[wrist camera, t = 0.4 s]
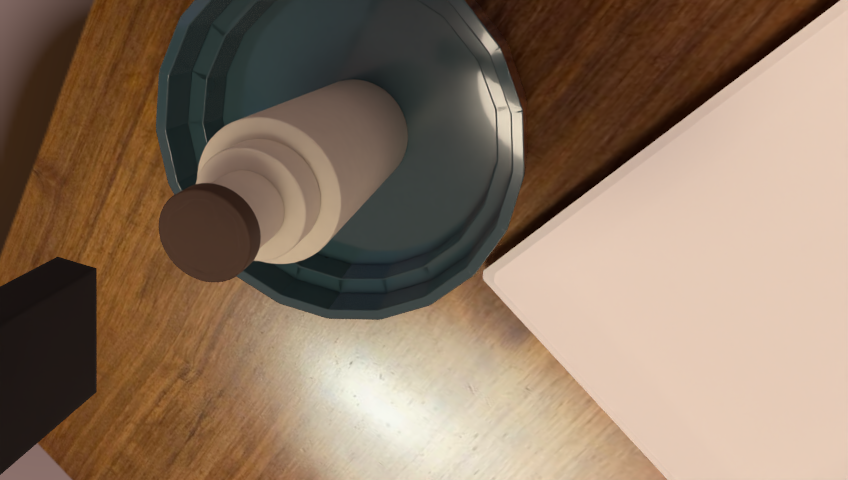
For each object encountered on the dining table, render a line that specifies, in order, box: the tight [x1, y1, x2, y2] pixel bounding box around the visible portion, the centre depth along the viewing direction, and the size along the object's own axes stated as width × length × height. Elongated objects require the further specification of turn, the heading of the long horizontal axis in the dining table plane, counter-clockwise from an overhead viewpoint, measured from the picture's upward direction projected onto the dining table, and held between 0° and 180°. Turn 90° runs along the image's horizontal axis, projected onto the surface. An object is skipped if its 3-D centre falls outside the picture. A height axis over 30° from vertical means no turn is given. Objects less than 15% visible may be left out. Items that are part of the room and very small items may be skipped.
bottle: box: [159, 79, 408, 282], centre depth 27 cm, size 6×6×17 cm
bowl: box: [156, 0, 528, 320], centre depth 33 cm, size 19×19×5 cm
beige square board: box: [483, 0, 848, 480], centre depth 33 cm, size 26×26×2 cm
